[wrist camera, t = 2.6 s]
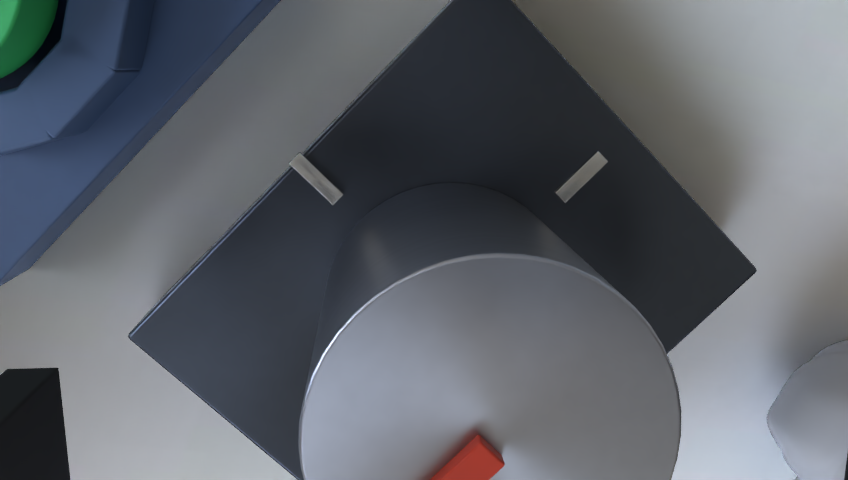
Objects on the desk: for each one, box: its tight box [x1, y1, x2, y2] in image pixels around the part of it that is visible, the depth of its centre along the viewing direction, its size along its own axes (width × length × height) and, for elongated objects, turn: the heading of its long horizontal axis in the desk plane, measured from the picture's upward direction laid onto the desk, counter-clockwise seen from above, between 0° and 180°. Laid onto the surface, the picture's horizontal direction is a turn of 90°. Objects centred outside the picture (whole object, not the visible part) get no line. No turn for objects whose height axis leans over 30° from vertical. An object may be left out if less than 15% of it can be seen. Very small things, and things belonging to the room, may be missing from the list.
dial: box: [299, 183, 681, 480], centre depth 15 cm, size 6×6×7 cm
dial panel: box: [128, 0, 757, 480], centre depth 20 cm, size 12×10×3 cm
